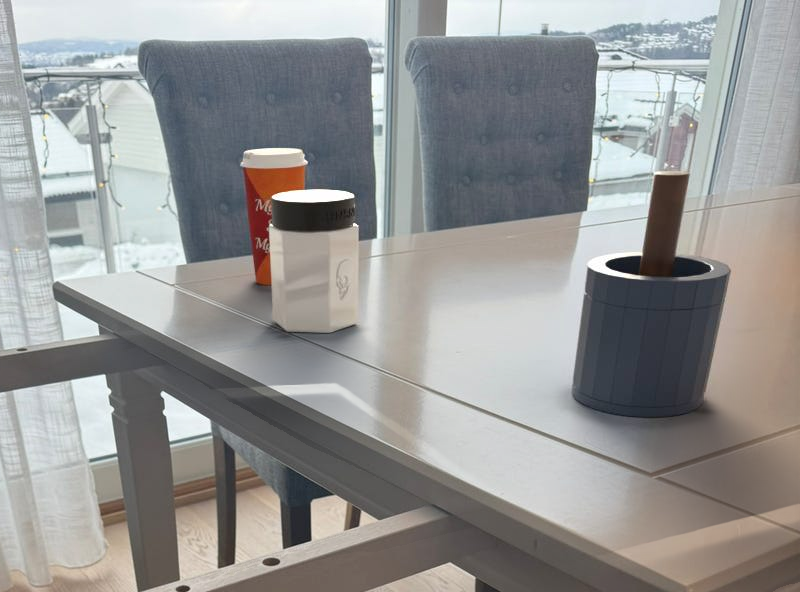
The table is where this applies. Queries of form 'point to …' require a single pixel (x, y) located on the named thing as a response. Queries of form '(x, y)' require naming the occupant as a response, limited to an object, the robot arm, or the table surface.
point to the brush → (663, 223)
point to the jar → (314, 260)
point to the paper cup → (268, 196)
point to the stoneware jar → (648, 335)
